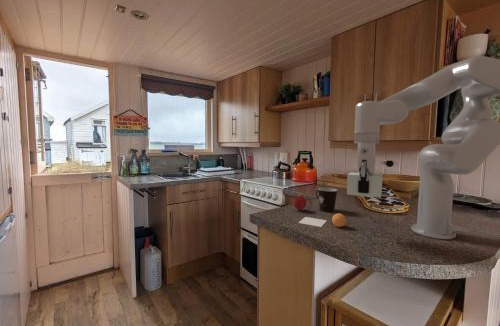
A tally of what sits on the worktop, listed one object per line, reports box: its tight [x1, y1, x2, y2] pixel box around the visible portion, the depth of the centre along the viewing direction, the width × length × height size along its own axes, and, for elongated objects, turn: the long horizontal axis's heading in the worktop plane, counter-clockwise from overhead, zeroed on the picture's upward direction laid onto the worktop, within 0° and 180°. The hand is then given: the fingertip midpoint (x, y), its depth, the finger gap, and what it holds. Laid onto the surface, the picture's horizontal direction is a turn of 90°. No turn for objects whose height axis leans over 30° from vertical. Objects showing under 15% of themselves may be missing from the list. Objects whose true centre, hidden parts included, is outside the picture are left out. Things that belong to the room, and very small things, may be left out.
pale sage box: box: [346, 171, 383, 199], centre depth 83 cm, size 10×8×7 cm
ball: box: [331, 213, 347, 228], centre depth 92 cm, size 5×5×5 cm
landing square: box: [297, 216, 328, 228], centre depth 97 cm, size 9×9×1 cm
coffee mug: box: [315, 187, 338, 213], centre depth 116 cm, size 12×9×10 cm
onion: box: [292, 193, 307, 211], centre depth 113 cm, size 6×6×8 cm
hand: (364, 190), depth 83 cm, fingers closed on pale sage box, 7 cm apart
